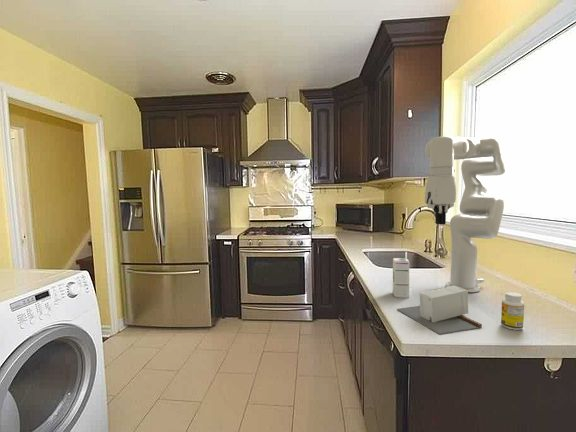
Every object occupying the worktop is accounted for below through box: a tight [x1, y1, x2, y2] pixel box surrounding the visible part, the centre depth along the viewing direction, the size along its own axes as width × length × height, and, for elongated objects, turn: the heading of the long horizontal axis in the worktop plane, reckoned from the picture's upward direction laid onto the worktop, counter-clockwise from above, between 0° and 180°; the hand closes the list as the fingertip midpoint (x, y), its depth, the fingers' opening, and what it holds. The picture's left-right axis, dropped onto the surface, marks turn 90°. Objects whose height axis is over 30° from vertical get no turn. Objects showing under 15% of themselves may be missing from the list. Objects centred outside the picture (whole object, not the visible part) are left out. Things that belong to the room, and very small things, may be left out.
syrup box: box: [392, 257, 410, 299], centre depth 125 cm, size 6×6×14 cm
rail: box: [456, 315, 483, 329], centre depth 104 cm, size 1×20×1 cm, turn 17°
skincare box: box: [419, 286, 469, 323], centre depth 102 cm, size 8×6×15 cm
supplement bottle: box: [500, 291, 525, 331], centre depth 95 cm, size 6×6×10 cm
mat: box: [396, 305, 479, 335], centre depth 102 cm, size 14×20×1 cm
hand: (440, 223), depth 113 cm, fingers closed
